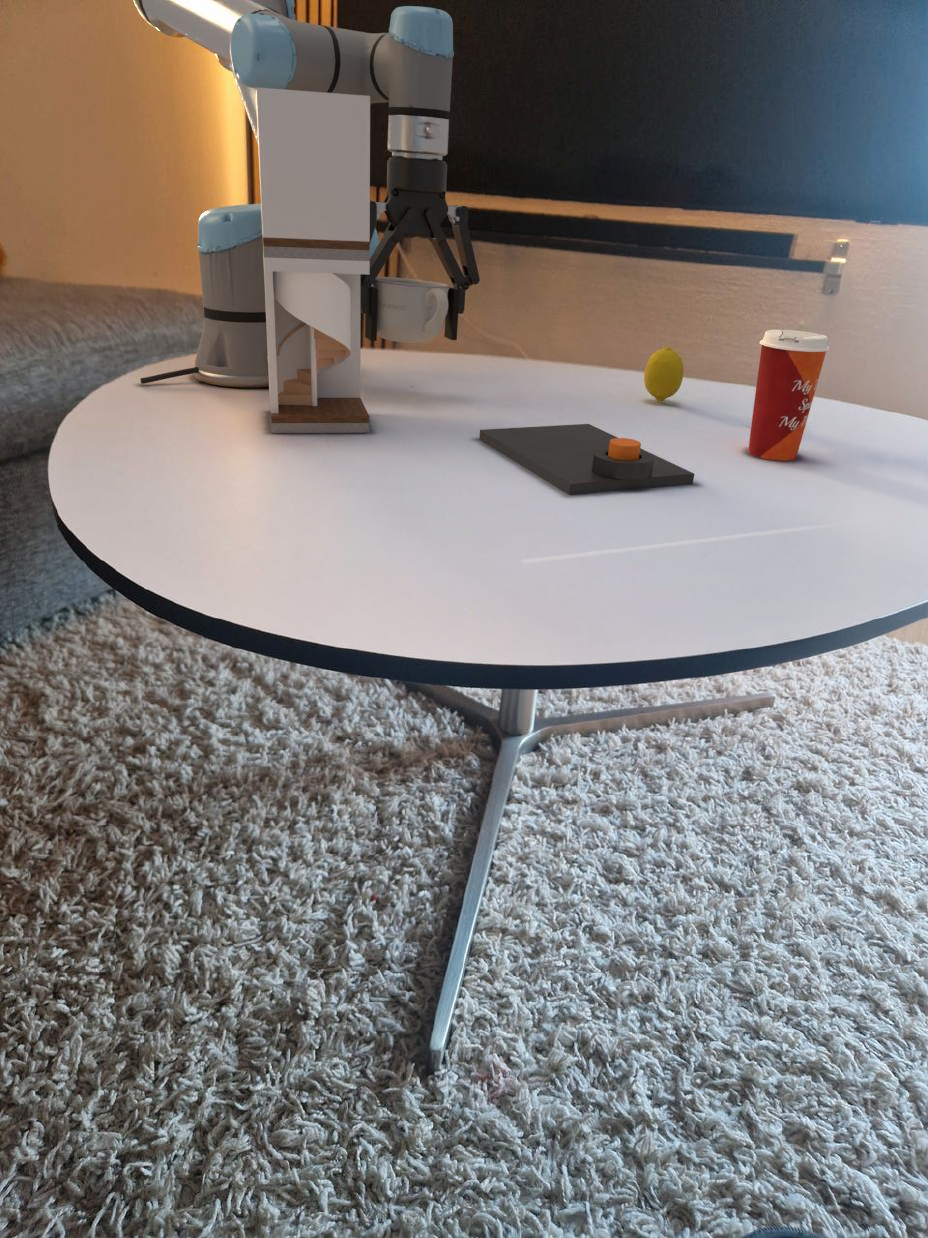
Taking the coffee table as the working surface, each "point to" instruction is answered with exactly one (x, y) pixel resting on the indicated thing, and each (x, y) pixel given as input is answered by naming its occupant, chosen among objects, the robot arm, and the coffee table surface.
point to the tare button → (624, 449)
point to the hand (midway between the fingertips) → (411, 338)
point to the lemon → (663, 374)
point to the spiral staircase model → (314, 254)
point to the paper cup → (785, 391)
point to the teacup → (410, 309)
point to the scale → (582, 459)
